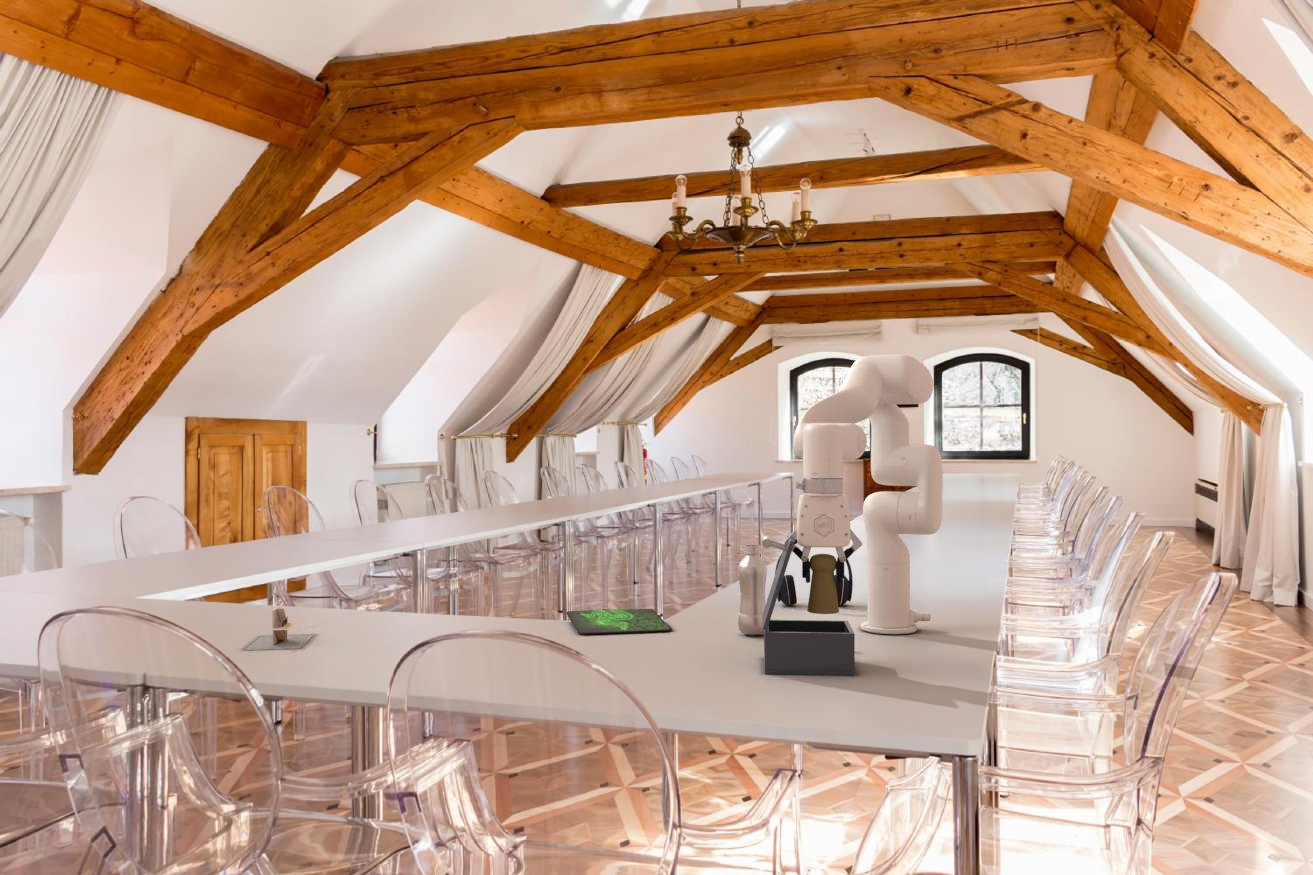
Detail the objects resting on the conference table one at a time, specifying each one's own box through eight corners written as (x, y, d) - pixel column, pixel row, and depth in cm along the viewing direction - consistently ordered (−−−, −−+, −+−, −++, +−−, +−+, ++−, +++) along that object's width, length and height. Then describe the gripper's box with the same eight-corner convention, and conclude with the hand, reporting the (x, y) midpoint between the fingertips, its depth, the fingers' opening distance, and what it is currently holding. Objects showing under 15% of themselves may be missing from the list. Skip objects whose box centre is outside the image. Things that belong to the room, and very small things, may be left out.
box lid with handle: (791, 535, 208) (764, 526, 209) (794, 542, 195) (765, 532, 195) (765, 617, 209) (738, 609, 209) (766, 630, 195) (738, 621, 196)
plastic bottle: (766, 638, 230) (766, 547, 230) (736, 637, 231) (735, 546, 231) (769, 632, 236) (769, 544, 236) (739, 631, 237) (739, 543, 237)
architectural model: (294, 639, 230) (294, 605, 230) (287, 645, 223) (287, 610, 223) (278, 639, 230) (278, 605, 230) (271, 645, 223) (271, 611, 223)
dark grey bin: (848, 659, 207) (847, 620, 207) (854, 675, 194) (854, 633, 194) (764, 658, 209) (763, 619, 209) (764, 673, 195) (764, 632, 195)
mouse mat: (674, 631, 237) (674, 626, 237) (577, 635, 233) (577, 630, 233) (651, 611, 264) (651, 607, 264) (564, 614, 260) (564, 610, 260)
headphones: (776, 607, 270) (776, 536, 270) (773, 603, 277) (773, 534, 277) (854, 607, 270) (853, 536, 270) (849, 603, 277) (849, 534, 277)
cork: (804, 608, 204) (804, 552, 204) (834, 608, 204) (834, 552, 204) (811, 614, 198) (811, 556, 198) (842, 613, 198) (842, 555, 198)
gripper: (778, 488, 198) (779, 584, 198) (870, 488, 197) (870, 585, 197) (777, 486, 206) (778, 578, 206) (865, 486, 204) (866, 579, 204)
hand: (823, 580), depth 201 cm, fingers closed on cork, 5 cm apart
